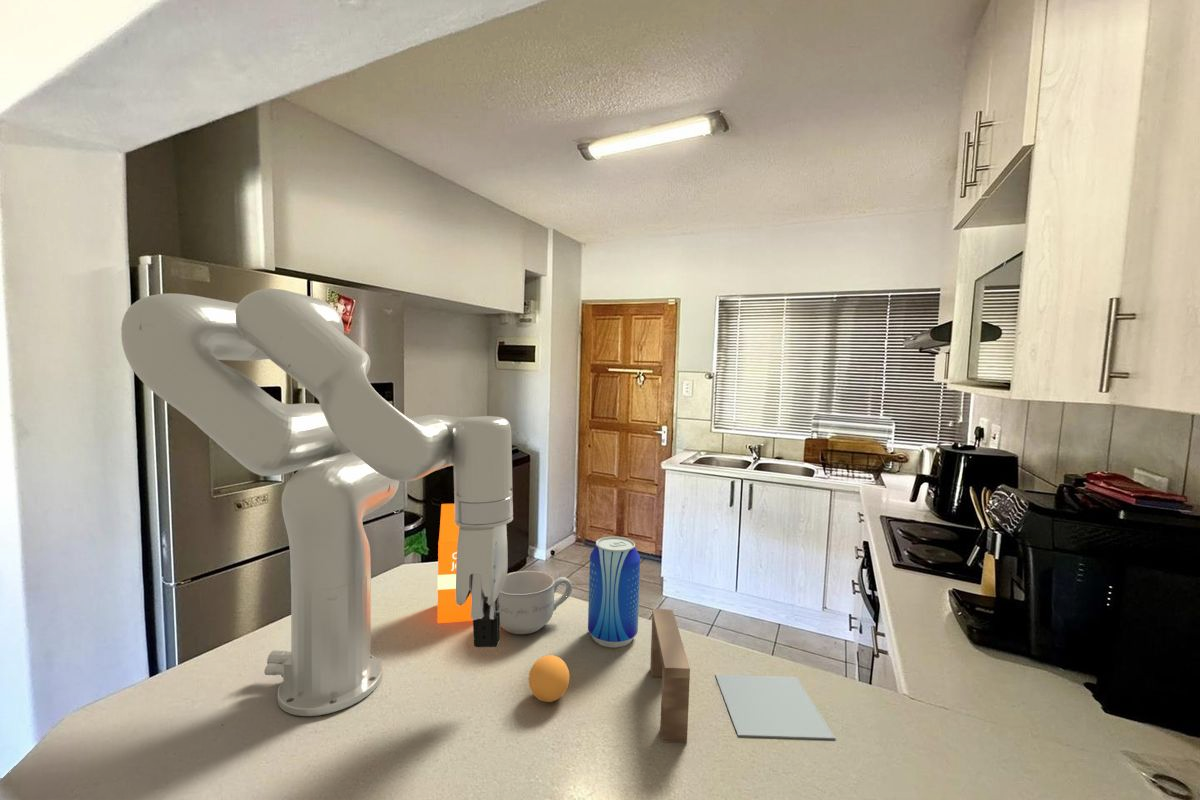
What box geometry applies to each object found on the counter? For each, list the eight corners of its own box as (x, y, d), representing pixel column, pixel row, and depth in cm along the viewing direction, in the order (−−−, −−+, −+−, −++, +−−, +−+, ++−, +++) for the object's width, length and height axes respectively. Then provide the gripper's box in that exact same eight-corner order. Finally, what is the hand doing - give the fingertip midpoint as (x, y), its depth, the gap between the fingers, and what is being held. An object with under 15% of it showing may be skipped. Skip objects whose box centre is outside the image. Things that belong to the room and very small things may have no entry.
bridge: (662, 741, 58) (664, 667, 58) (650, 668, 73) (652, 608, 72) (687, 742, 58) (690, 668, 58) (670, 669, 73) (672, 609, 72)
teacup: (489, 644, 78) (490, 595, 78) (493, 611, 89) (494, 568, 89) (575, 639, 80) (576, 592, 80) (569, 607, 91) (570, 566, 91)
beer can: (634, 653, 77) (637, 554, 76) (582, 646, 78) (585, 549, 78) (640, 626, 85) (643, 537, 84) (593, 620, 87) (596, 532, 86)
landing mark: (737, 736, 60) (738, 734, 60) (715, 675, 72) (715, 674, 72) (835, 739, 60) (835, 737, 60) (796, 678, 72) (796, 676, 72)
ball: (525, 711, 63) (526, 670, 63) (531, 684, 68) (532, 646, 68) (567, 712, 63) (568, 671, 63) (570, 685, 68) (571, 647, 68)
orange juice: (489, 619, 86) (491, 508, 85) (436, 623, 84) (438, 510, 83) (489, 599, 94) (491, 497, 92) (441, 602, 92) (442, 498, 91)
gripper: (471, 495, 72) (474, 616, 73) (436, 527, 57) (440, 678, 58) (521, 495, 72) (523, 616, 73) (500, 527, 57) (503, 678, 58)
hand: (487, 643), depth 65 cm, fingers closed
